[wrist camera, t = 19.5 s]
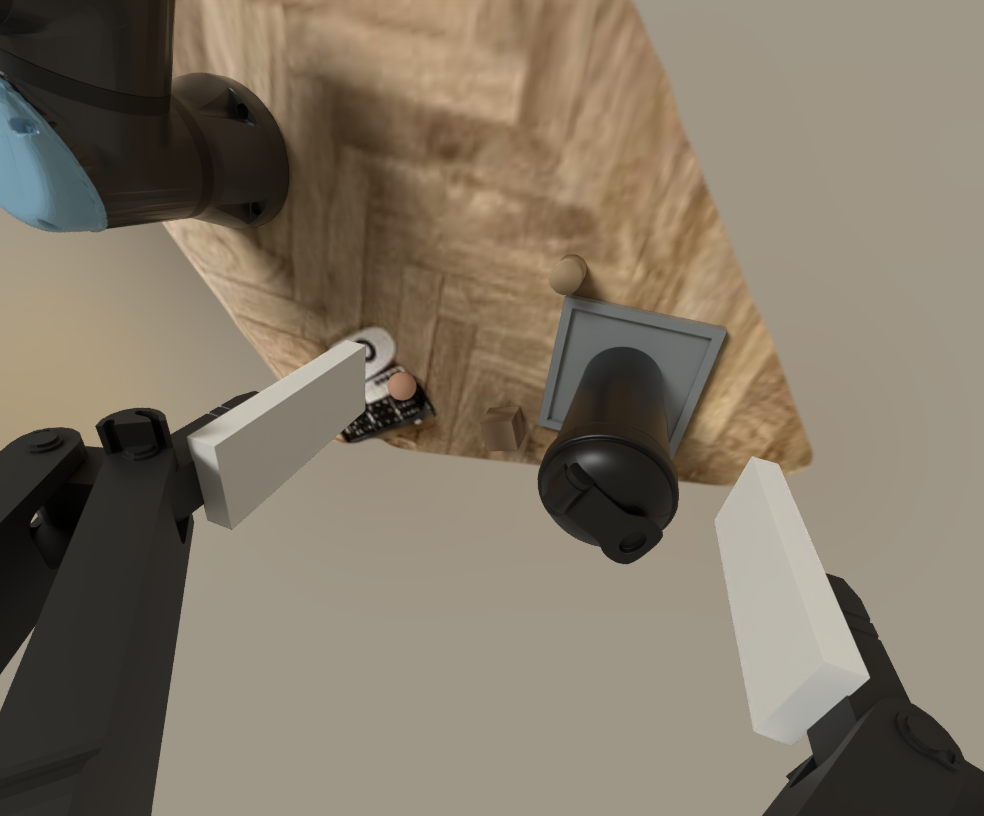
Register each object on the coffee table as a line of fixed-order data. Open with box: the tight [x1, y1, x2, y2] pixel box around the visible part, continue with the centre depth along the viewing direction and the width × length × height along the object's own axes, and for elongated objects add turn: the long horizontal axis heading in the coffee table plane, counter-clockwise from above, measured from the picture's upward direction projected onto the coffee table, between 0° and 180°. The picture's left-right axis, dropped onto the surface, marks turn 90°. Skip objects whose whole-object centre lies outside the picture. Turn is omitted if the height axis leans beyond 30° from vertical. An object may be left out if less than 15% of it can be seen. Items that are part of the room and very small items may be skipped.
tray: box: [538, 294, 727, 461], centre depth 49 cm, size 16×16×1 cm
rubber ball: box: [388, 372, 416, 400], centre depth 57 cm, size 4×4×4 cm
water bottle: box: [538, 347, 679, 564], centre depth 40 cm, size 10×10×23 cm
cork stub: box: [550, 255, 587, 295], centre depth 44 cm, size 3×3×4 cm
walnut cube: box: [480, 406, 525, 451], centre depth 56 cm, size 4×4×4 cm
